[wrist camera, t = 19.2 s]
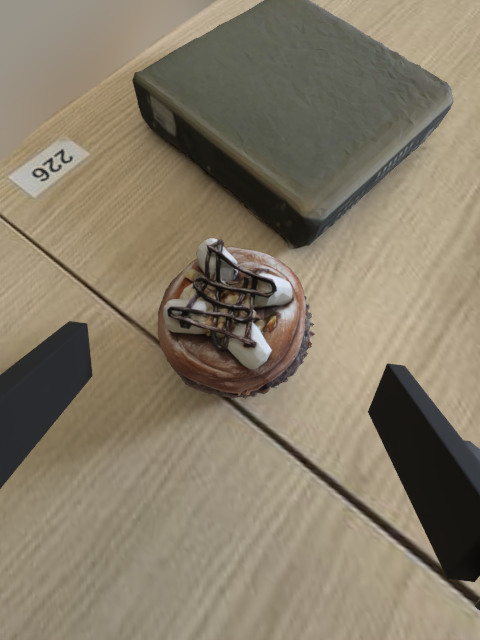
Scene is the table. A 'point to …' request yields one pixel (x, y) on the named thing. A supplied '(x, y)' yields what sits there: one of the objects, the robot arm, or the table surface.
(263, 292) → the cupcake
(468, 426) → the table surface
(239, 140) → the network switch
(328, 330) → the table surface
